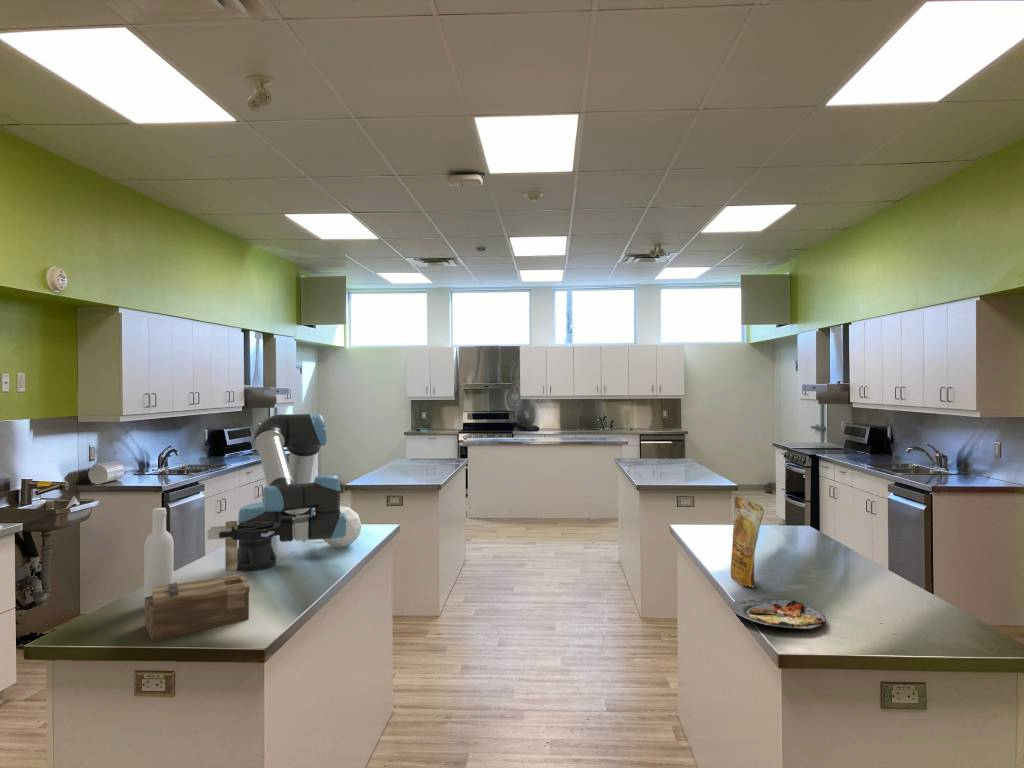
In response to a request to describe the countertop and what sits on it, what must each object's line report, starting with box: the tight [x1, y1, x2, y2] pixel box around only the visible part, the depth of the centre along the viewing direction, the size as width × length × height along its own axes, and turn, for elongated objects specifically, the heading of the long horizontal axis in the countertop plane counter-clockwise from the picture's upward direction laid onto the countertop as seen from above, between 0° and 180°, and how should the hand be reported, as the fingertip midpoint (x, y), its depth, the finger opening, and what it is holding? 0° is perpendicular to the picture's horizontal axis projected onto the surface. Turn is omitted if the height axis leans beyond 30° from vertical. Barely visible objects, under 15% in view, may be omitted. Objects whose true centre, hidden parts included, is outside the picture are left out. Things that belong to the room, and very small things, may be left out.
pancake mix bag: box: [730, 496, 764, 588], centre depth 206 cm, size 7×19×28 cm, turn 0°
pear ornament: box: [322, 506, 362, 548], centre depth 254 cm, size 16×22×28 cm
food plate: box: [731, 596, 827, 630], centre depth 172 cm, size 25×23×4 cm
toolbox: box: [143, 592, 250, 642], centre depth 169 cm, size 14×24×8 cm, turn 130°
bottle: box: [143, 507, 175, 610], centre depth 182 cm, size 8×8×30 cm
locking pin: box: [224, 520, 238, 572], centre depth 175 cm, size 3×3×14 cm
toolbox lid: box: [153, 573, 251, 608], centre depth 171 cm, size 14×24×3 cm, turn 122°
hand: (209, 533), depth 173 cm, fingers closed on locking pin, 3 cm apart
